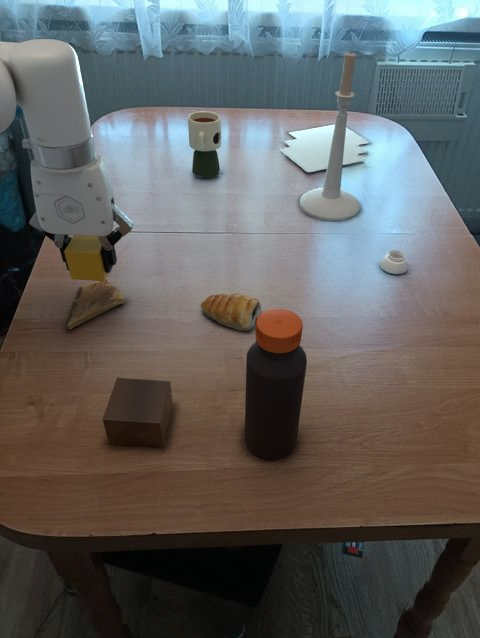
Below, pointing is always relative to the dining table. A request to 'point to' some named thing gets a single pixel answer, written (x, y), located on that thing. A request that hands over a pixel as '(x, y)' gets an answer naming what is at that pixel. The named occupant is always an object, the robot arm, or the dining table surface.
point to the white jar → (394, 262)
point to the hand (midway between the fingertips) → (91, 265)
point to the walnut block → (138, 412)
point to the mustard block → (85, 258)
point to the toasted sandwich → (93, 302)
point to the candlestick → (335, 162)
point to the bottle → (274, 384)
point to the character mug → (205, 142)
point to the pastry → (233, 310)
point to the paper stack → (321, 147)
